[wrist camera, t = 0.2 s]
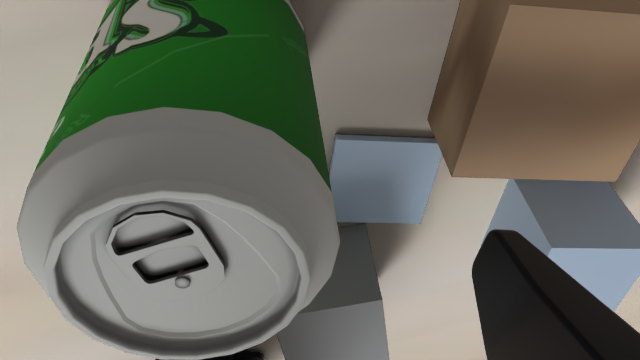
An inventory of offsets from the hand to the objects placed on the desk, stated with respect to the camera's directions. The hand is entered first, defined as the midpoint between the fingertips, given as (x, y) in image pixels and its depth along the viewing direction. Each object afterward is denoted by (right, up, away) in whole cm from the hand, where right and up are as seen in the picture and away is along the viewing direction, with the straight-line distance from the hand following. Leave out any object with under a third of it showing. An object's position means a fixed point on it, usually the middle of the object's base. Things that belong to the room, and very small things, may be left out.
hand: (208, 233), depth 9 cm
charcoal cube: (+2, -4, +22) cm, 23 cm away
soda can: (-3, +6, +14) cm, 15 cm away
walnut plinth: (+10, +6, +15) cm, 19 cm away
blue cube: (+13, -1, +21) cm, 25 cm away
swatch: (+5, +1, +19) cm, 19 cm away
